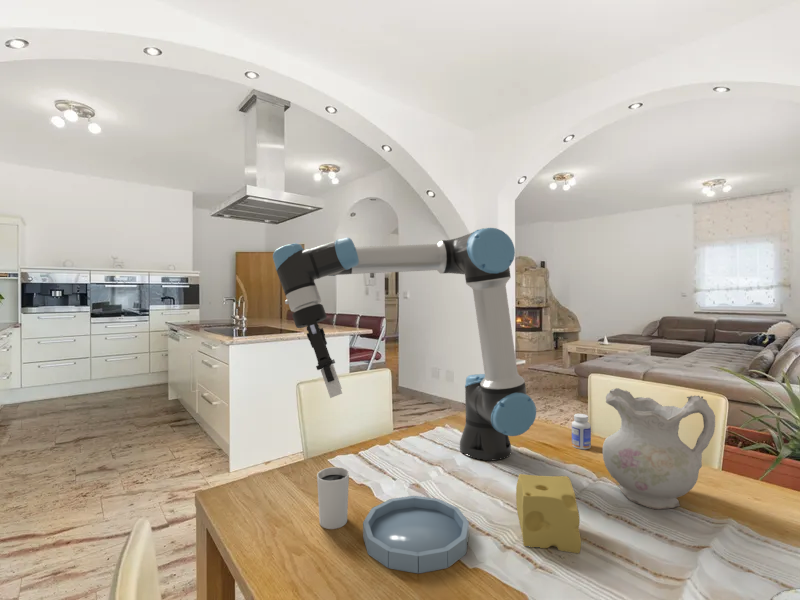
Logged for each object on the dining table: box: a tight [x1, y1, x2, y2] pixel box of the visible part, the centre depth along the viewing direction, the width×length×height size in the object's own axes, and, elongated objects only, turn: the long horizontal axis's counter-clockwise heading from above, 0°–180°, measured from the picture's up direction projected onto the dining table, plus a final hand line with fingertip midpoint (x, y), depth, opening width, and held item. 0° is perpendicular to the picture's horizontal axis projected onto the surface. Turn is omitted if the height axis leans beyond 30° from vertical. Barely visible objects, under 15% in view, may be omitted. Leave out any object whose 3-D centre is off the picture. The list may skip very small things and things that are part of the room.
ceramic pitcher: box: [602, 387, 716, 510], centre depth 95 cm, size 22×20×25 cm
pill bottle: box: [571, 413, 592, 450], centre depth 126 cm, size 5×5×10 cm
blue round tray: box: [362, 495, 470, 574], centre depth 80 cm, size 20×20×3 cm
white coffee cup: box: [316, 466, 350, 530], centre depth 86 cm, size 7×7×10 cm
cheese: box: [515, 473, 582, 554], centre depth 80 cm, size 10×11×10 cm
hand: (336, 393), depth 96 cm, fingers open, 13 cm apart
